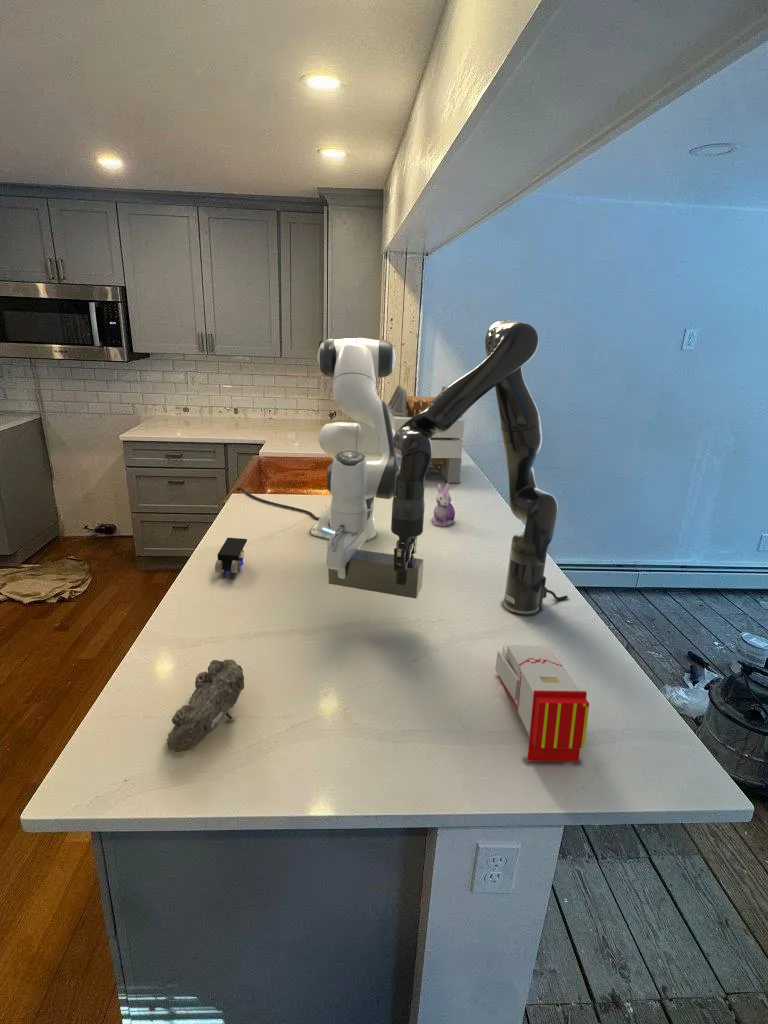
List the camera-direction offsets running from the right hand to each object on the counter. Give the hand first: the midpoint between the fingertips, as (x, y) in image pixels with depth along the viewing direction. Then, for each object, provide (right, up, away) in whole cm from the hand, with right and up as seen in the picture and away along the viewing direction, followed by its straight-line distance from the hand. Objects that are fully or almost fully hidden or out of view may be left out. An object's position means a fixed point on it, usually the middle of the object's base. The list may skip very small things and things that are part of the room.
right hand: (404, 578), depth 138 cm
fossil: (-38, -23, -30) cm, 53 cm away
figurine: (+17, +12, +75) cm, 78 cm away
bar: (-7, -2, +3) cm, 8 cm away
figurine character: (-50, -1, +30) cm, 58 cm away
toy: (+25, -24, -24) cm, 42 cm away
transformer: (+12, +35, +137) cm, 142 cm away
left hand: (-14, +1, +4) cm, 15 cm away
